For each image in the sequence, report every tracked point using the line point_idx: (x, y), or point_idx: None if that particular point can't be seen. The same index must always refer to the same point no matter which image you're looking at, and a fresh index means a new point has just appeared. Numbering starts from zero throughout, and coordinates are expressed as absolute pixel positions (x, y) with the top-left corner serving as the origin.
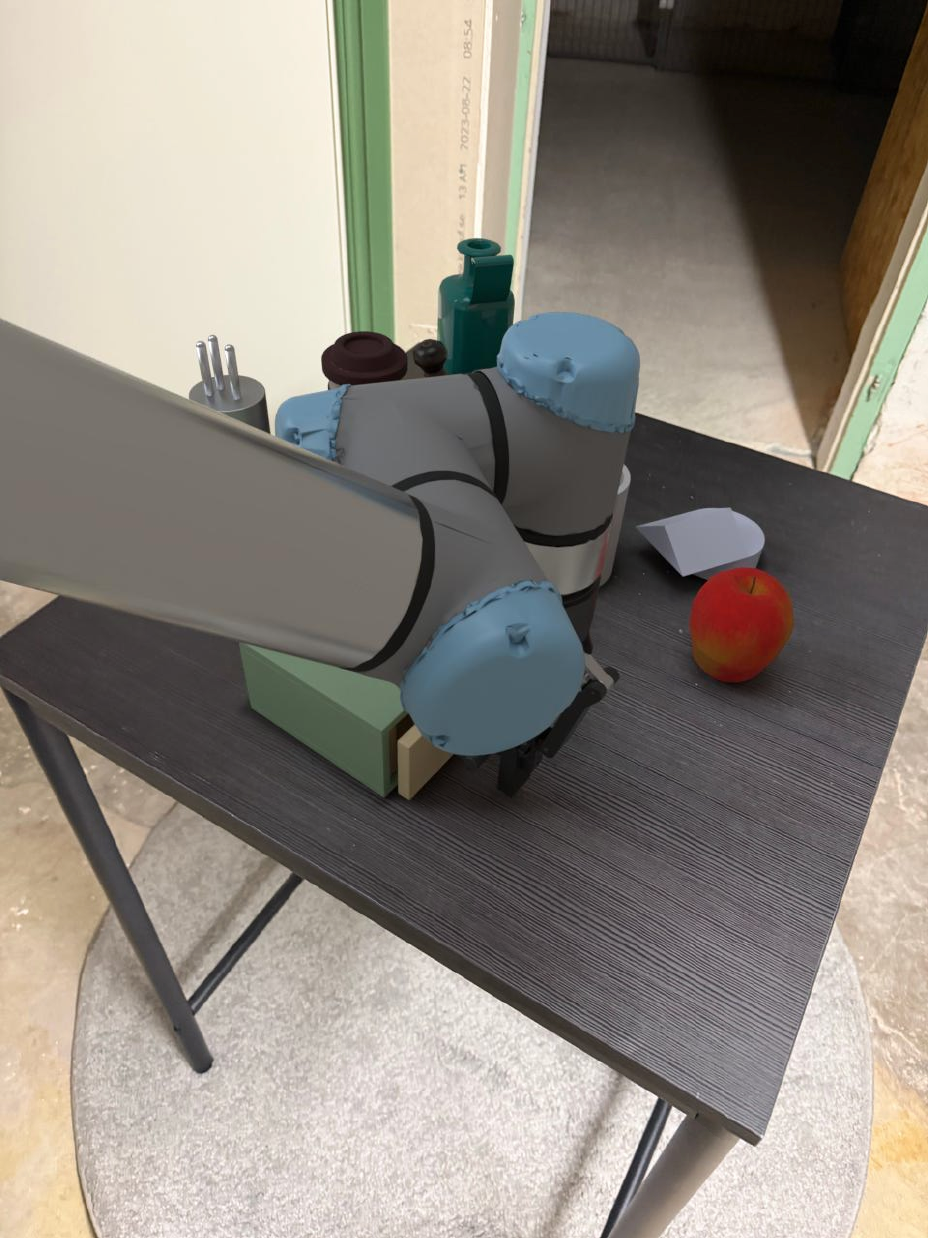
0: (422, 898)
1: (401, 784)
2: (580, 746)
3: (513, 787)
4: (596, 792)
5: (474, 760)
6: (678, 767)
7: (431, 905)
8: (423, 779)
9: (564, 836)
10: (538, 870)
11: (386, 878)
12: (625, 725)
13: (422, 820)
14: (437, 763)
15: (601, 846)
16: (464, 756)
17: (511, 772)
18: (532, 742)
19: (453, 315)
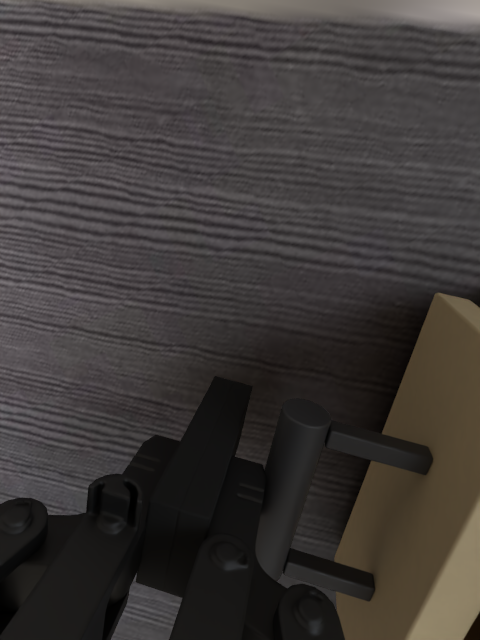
0: (307, 81)
1: (476, 310)
2: None
3: (204, 396)
4: (108, 444)
5: (294, 425)
6: None
7: (281, 75)
8: (422, 350)
9: (116, 345)
10: (125, 259)
11: (409, 85)
12: None
13: (385, 267)
14: (405, 401)
15: (56, 350)
16: (330, 430)
17: (200, 425)
18: (72, 542)
19: None
